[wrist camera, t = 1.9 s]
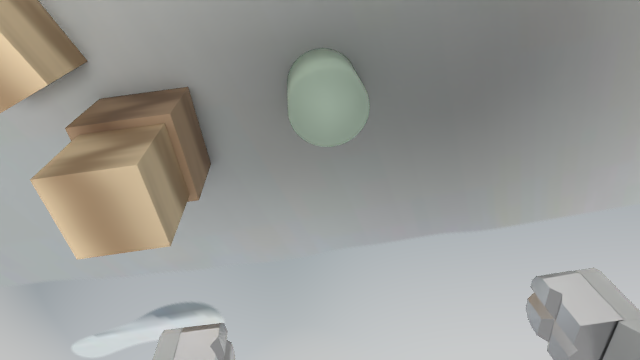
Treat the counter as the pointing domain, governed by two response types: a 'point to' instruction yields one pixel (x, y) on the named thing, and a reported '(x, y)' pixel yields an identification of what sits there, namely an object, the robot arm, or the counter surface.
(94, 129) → the tower block base
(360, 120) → the sage green cylinder
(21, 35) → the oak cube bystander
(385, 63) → the counter surface
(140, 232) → the tower block top
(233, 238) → the counter surface
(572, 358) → the robot arm
